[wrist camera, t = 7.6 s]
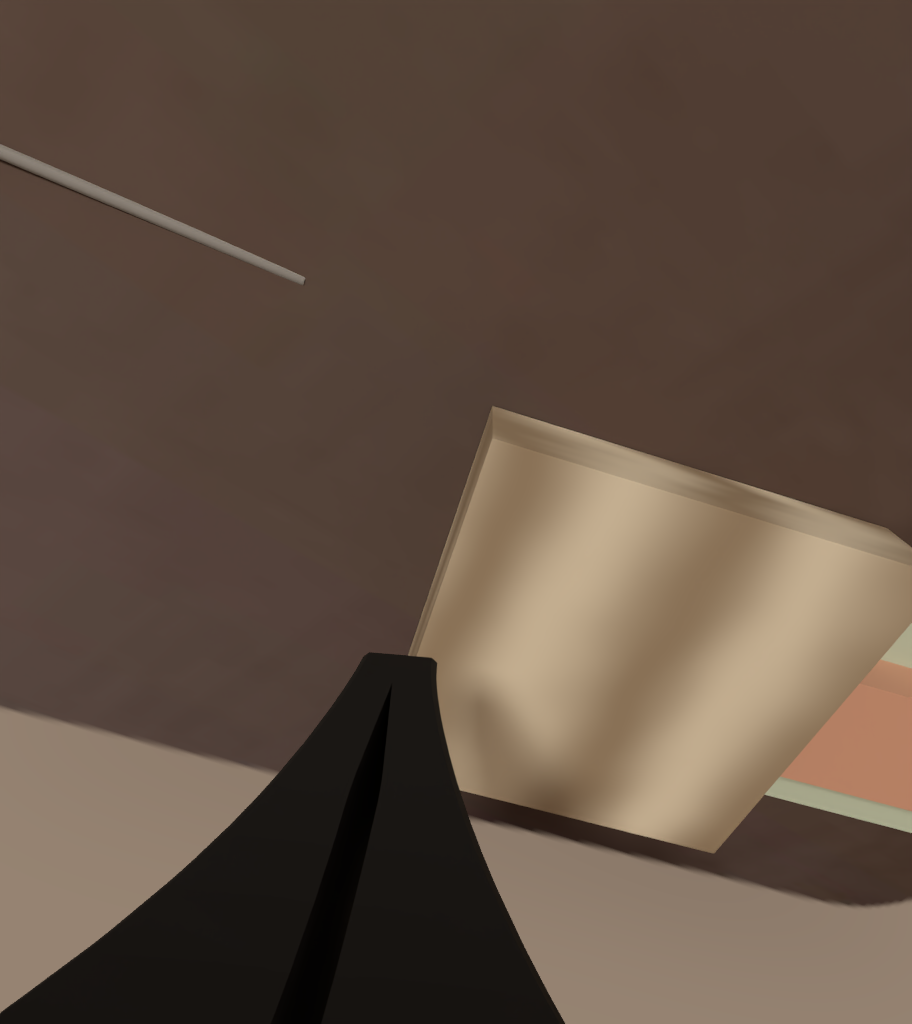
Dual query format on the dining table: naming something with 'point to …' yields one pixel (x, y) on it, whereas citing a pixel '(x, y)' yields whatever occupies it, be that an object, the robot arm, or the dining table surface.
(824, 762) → the tile
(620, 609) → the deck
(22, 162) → the sign
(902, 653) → the mat
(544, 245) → the dining table surface
